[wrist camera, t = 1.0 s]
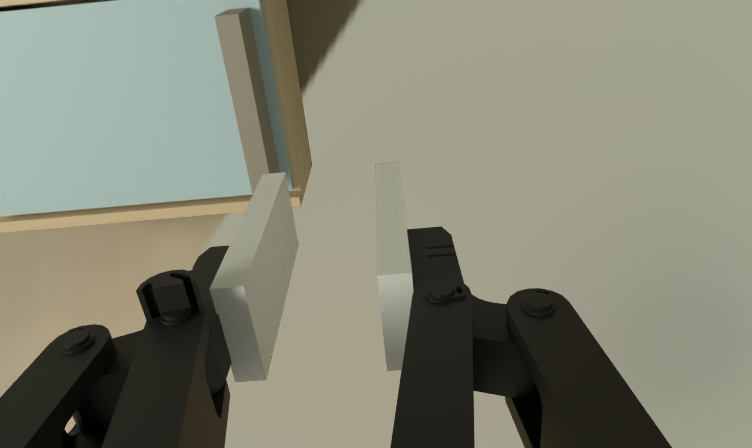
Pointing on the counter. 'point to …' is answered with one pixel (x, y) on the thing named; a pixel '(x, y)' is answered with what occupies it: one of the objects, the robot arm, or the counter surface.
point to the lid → (136, 104)
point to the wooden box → (300, 169)
